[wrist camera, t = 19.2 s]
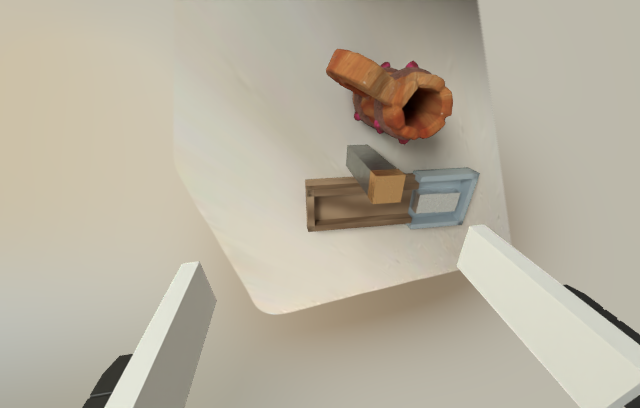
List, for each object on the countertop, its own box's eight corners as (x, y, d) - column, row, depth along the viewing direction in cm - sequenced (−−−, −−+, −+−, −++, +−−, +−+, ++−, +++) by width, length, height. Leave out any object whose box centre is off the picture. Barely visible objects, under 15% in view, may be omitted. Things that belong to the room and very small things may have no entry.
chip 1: (413, 189, 44) (420, 194, 42) (433, 187, 44) (440, 193, 42) (409, 207, 46) (415, 213, 44) (428, 205, 46) (435, 212, 44)
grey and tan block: (347, 145, 39) (376, 176, 26) (367, 144, 39) (405, 175, 27) (345, 165, 40) (372, 204, 28) (365, 165, 41) (400, 202, 29)
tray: (413, 170, 43) (421, 176, 40) (468, 167, 44) (479, 173, 41) (403, 220, 48) (410, 229, 45) (452, 216, 49) (461, 224, 46)
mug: (413, 87, 36) (489, 93, 23) (384, 136, 39) (435, 166, 26) (332, 32, 31) (367, -2, 18) (305, 92, 34) (319, 101, 21)
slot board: (305, 179, 40) (306, 186, 38) (412, 173, 43) (420, 179, 40) (307, 226, 45) (308, 235, 43) (403, 218, 48) (410, 226, 45)
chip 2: (432, 188, 44) (440, 193, 42) (452, 187, 45) (460, 192, 43) (428, 206, 46) (435, 212, 44) (446, 204, 47) (454, 211, 45)
